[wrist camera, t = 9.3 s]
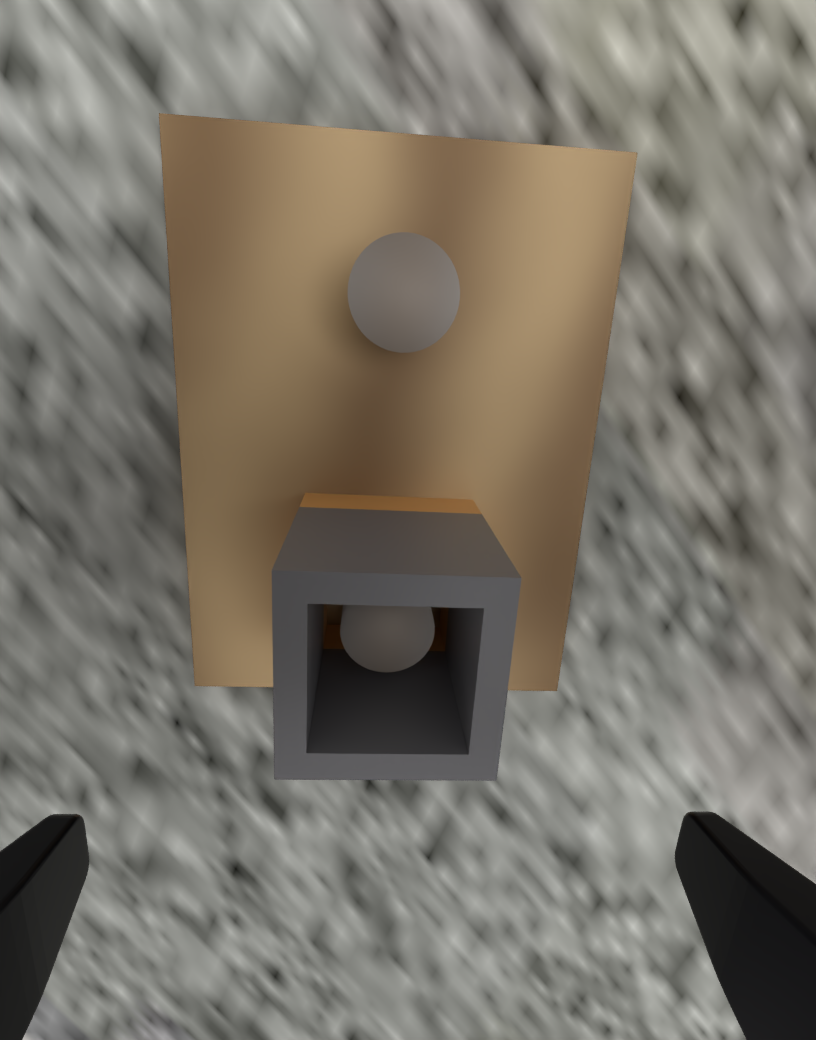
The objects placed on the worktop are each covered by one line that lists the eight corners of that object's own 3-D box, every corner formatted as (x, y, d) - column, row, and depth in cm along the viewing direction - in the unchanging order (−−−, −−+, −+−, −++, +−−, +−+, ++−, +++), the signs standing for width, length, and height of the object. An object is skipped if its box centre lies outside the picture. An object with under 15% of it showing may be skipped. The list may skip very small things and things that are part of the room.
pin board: (621, 163, 16) (713, 99, 12) (548, 674, 21) (594, 762, 16) (172, 127, 15) (92, 43, 11) (203, 669, 20) (156, 760, 15)
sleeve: (459, 647, 19) (496, 780, 13) (304, 643, 19) (274, 779, 13) (472, 499, 17) (522, 577, 12) (305, 492, 17) (271, 570, 11)
